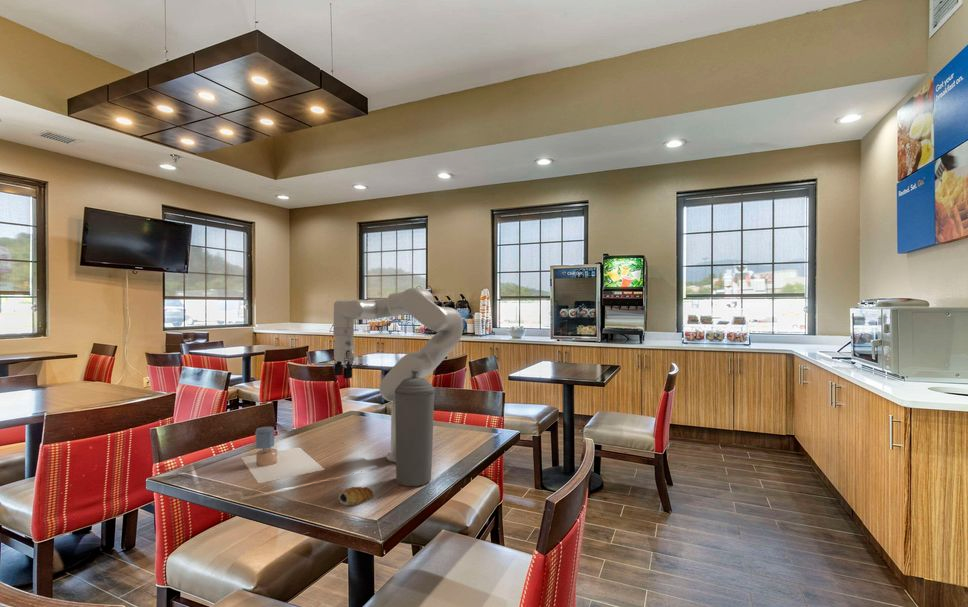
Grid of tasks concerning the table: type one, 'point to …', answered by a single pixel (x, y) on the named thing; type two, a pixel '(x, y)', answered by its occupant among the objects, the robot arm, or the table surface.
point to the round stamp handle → (266, 457)
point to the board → (283, 465)
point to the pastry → (355, 495)
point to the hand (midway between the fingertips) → (342, 376)
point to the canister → (414, 430)
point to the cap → (264, 437)
